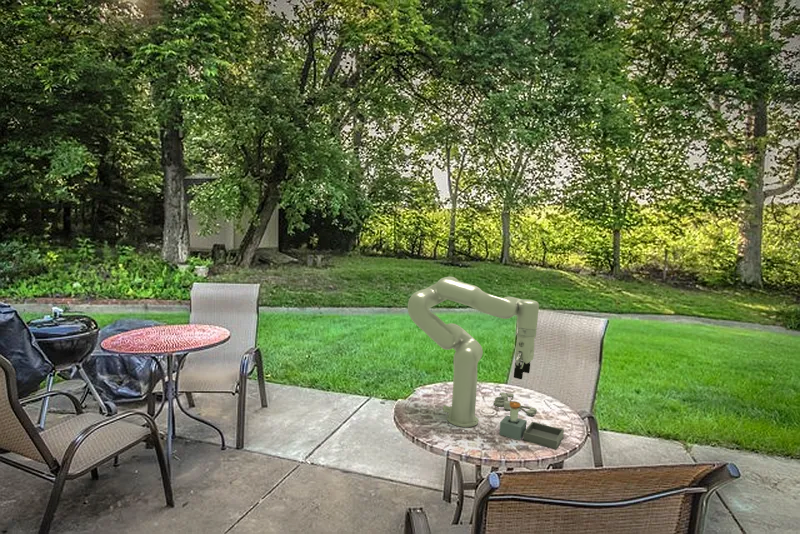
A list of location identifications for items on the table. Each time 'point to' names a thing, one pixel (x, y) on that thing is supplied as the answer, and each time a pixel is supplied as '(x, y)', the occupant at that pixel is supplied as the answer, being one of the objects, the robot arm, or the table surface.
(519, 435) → the block
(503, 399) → the pulley system
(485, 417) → the table surface
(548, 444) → the parts tray
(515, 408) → the pin
